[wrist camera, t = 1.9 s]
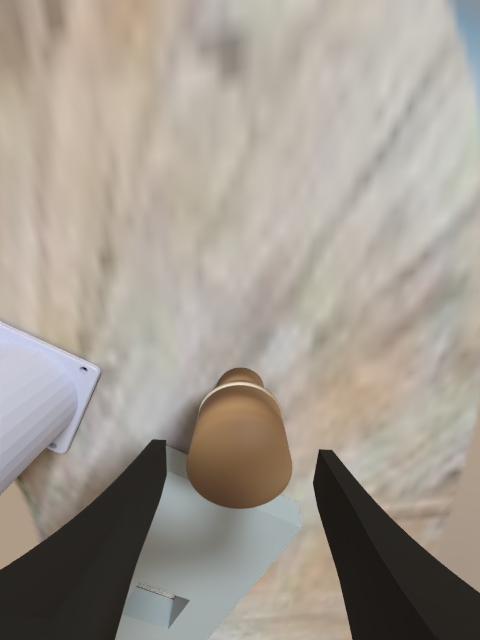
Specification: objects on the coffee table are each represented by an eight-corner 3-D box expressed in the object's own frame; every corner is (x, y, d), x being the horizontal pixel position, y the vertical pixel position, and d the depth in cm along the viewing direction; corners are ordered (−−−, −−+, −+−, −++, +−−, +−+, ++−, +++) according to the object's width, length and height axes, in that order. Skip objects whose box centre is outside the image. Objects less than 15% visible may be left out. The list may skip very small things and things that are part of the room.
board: (78, 593, 25) (65, 623, 23) (161, 443, 20) (153, 464, 18) (192, 632, 26) (188, 662, 25) (297, 501, 21) (302, 527, 19)
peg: (194, 400, 19) (167, 485, 12) (225, 344, 17) (215, 405, 11) (253, 428, 19) (259, 523, 13) (288, 376, 18) (314, 452, 11)
